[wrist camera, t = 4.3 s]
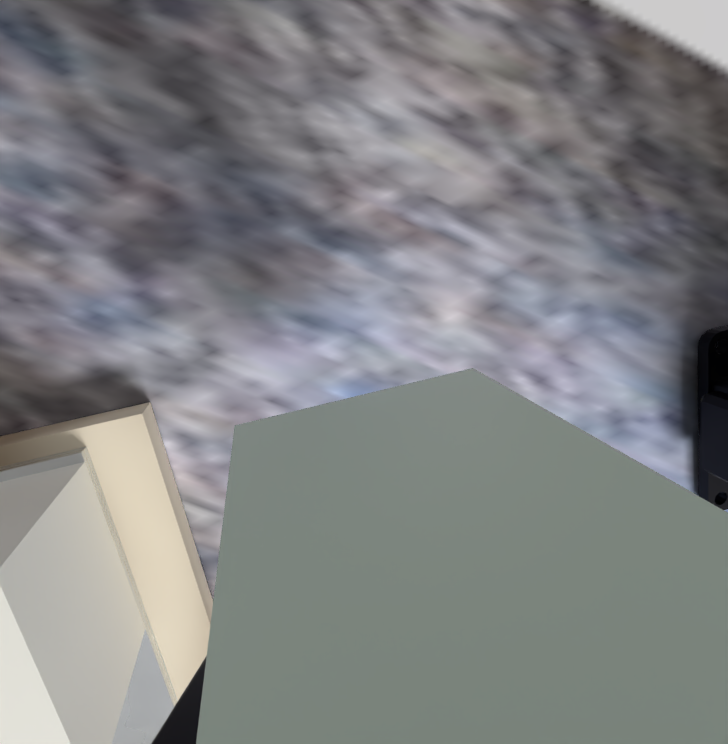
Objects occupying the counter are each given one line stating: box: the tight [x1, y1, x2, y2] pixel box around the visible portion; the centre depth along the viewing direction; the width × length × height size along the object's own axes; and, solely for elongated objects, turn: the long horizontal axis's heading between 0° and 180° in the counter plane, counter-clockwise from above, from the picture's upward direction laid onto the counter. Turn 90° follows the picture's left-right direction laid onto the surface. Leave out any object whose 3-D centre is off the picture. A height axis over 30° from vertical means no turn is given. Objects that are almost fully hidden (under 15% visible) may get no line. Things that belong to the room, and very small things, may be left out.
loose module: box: [196, 368, 728, 744], centre depth 6 cm, size 4×5×8 cm
